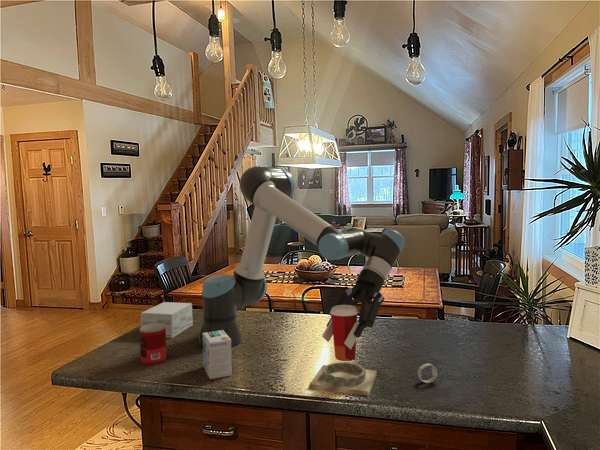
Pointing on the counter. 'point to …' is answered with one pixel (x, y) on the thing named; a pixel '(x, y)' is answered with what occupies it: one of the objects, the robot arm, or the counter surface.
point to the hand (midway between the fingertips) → (336, 342)
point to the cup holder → (344, 378)
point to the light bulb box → (217, 354)
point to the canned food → (153, 343)
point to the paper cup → (343, 330)
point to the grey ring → (432, 372)
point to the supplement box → (169, 317)
